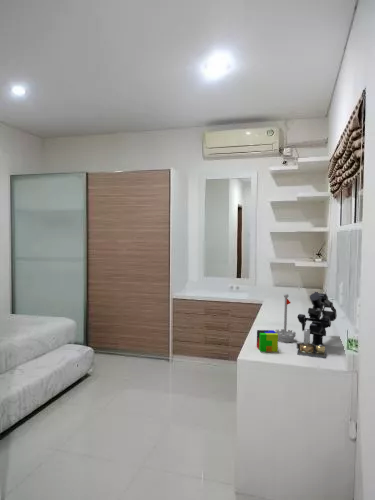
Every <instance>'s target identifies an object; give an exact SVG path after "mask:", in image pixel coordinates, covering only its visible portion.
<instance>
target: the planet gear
mask: <svg viewBox="0 0 375 500" xmlns="http://www.w3.org/2000/svg"><path fill="white" fill-rule="evenodd" d="M310 342H311V334H310V330H309V328H305V329H304V331H303V343H304V345H300V351H303V352H313V350H314V347H313V346H312V345H310V344H311V343H310Z"/></svg>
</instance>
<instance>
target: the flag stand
mask: <svg viewBox="0 0 375 500" xmlns="http://www.w3.org/2000/svg"><path fill="white" fill-rule="evenodd" d="M283 297H284V314H283V315H284V316H283V317H284V318H283V324H284V326H283V328H281V329H275V330H274V331H275V332H276V333H277V334H278V342H281V343H292V342H294V340H295V339H294V338H295V337H296V335H297V334H296V331H294V330H291V329H288V330H287V325H288V323H287V322H288V305H289V304H291V303H292V302H291V301H290V300H289V298H288V297H289V294H288V293H284V294H283Z"/></svg>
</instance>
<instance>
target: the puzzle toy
mask: <svg viewBox="0 0 375 500" xmlns="http://www.w3.org/2000/svg"><path fill="white" fill-rule="evenodd" d="M256 348H257V349H258V351H260V353H261V352H263V353H266V352H270V353H272V352H273V353H275V352H277V353H278V352H279V351H278V348H279V341H278V334H277V333H276V332H275V330H274V329H273V330H272V329H271V330H270V329H267V330H266V329H257V330H256Z"/></svg>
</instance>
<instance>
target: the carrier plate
mask: <svg viewBox="0 0 375 500" xmlns="http://www.w3.org/2000/svg"><path fill="white" fill-rule="evenodd" d="M300 345H304V342H297V343H296V349H297V352H296V355H299V356H304V357H305V356H307V357H312V358H321V359H326V357H327V350H326V347H325V345H323V346H322V345H314V344H312V343H310V345H312V346H313V347H314V350H313V352H303V351H300Z"/></svg>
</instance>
